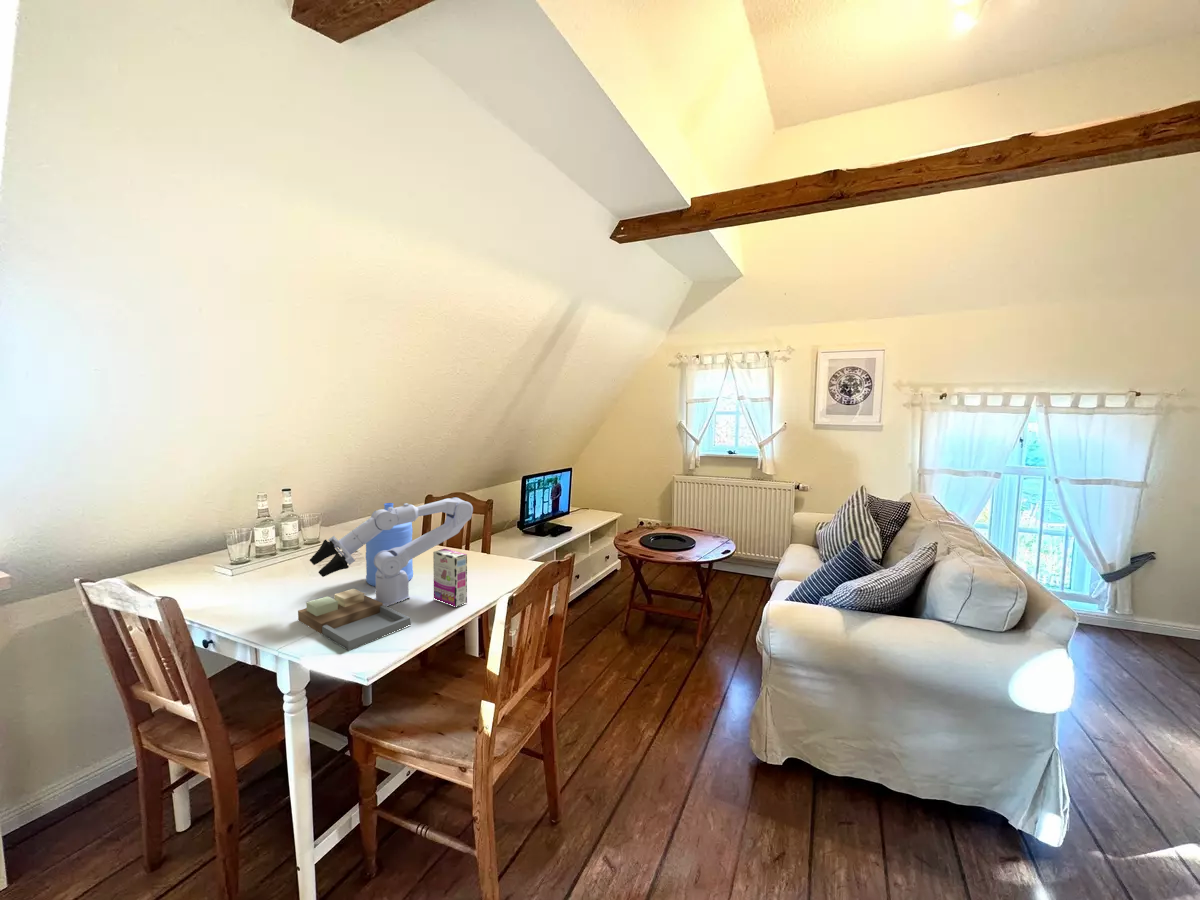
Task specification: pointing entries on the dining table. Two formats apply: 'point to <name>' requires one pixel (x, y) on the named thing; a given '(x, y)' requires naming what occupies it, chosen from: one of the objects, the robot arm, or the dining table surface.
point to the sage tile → (322, 606)
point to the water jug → (388, 547)
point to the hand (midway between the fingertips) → (315, 568)
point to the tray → (367, 628)
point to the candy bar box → (450, 577)
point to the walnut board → (340, 614)
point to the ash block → (349, 597)
